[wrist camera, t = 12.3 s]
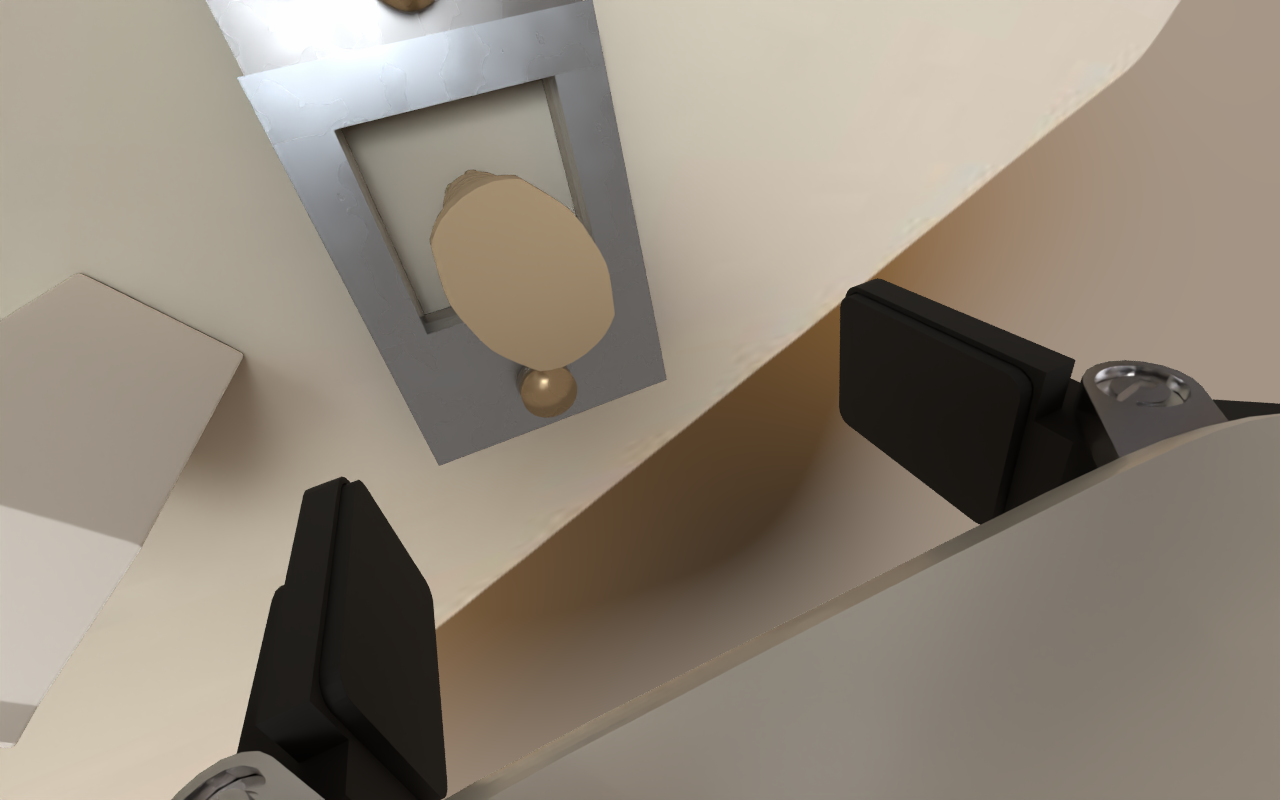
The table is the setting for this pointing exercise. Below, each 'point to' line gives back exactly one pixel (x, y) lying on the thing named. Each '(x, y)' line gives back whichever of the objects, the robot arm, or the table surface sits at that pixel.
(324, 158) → the upper end link
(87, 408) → the milk carton
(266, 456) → the table surface
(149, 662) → the table surface
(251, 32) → the lower end link
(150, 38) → the table surface
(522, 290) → the handle
